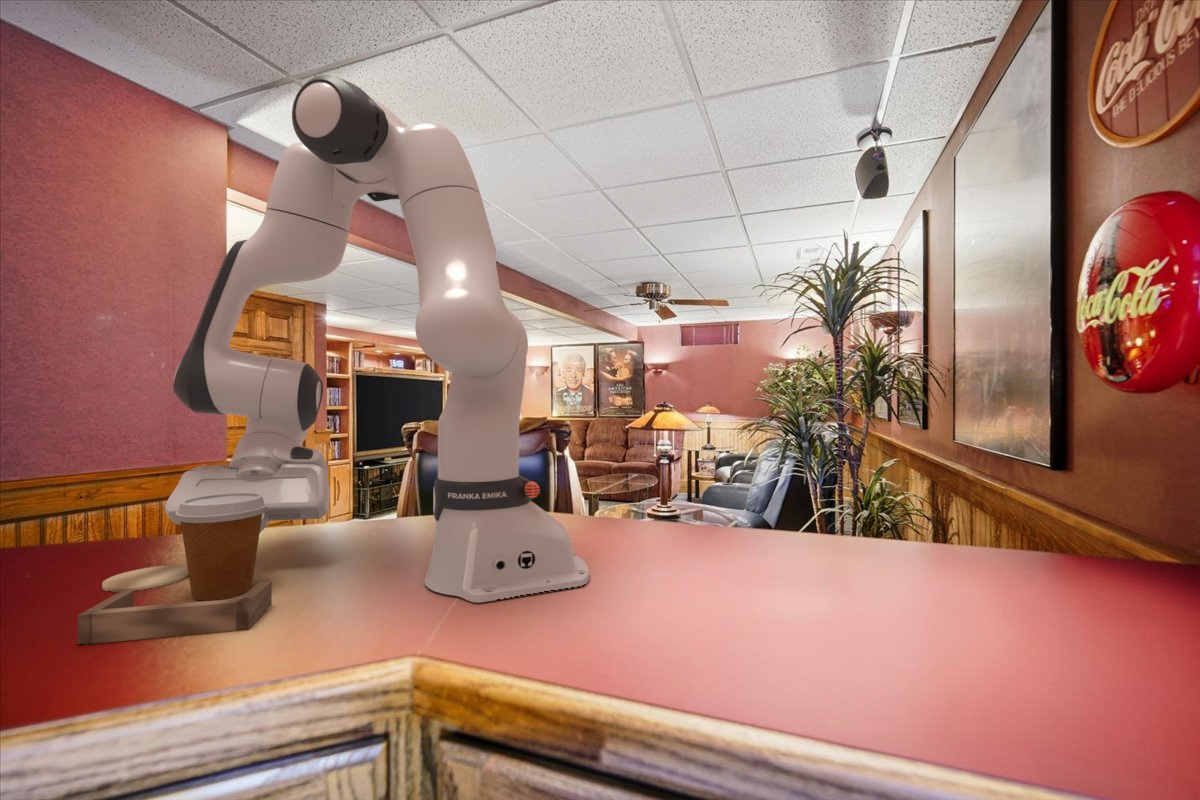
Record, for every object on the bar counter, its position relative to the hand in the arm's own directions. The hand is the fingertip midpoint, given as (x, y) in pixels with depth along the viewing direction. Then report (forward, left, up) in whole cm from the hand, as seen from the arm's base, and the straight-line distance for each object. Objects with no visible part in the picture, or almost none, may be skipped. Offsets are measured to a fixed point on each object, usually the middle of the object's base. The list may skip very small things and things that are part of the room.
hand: (237, 545), depth 72 cm
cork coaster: (+12, -3, -5) cm, 13 cm away
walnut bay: (0, +13, -5) cm, 14 cm away
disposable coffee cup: (0, +4, -5) cm, 7 cm away
